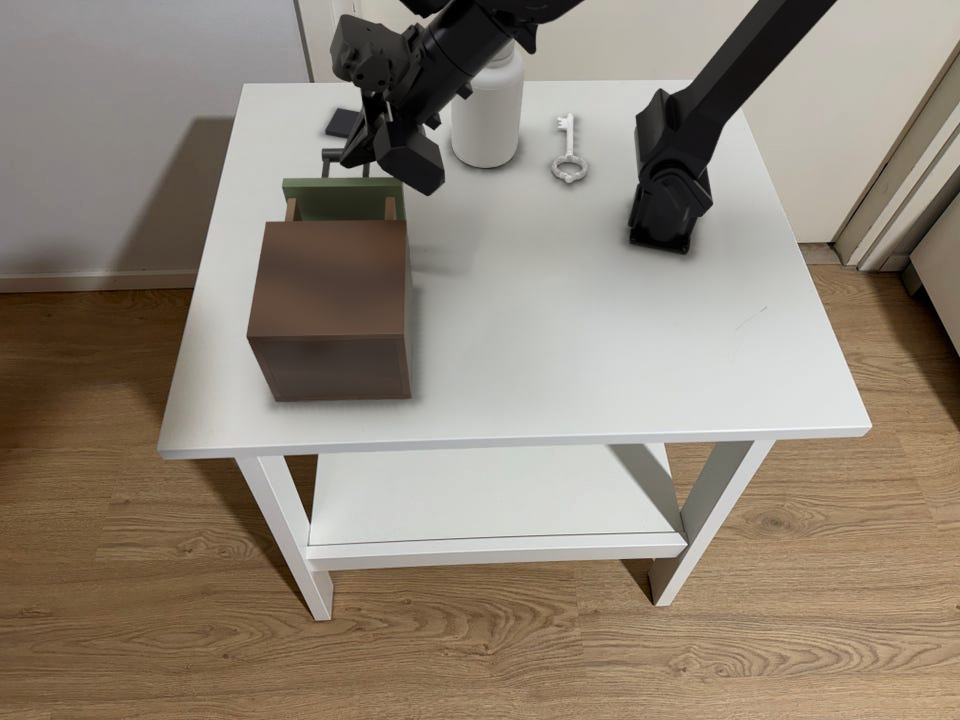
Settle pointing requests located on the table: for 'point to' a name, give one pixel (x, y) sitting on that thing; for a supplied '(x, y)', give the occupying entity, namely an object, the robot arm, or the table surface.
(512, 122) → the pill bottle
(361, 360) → the cabinet
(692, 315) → the table surface
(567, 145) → the key
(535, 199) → the table surface
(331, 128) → the pad
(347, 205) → the drawer
